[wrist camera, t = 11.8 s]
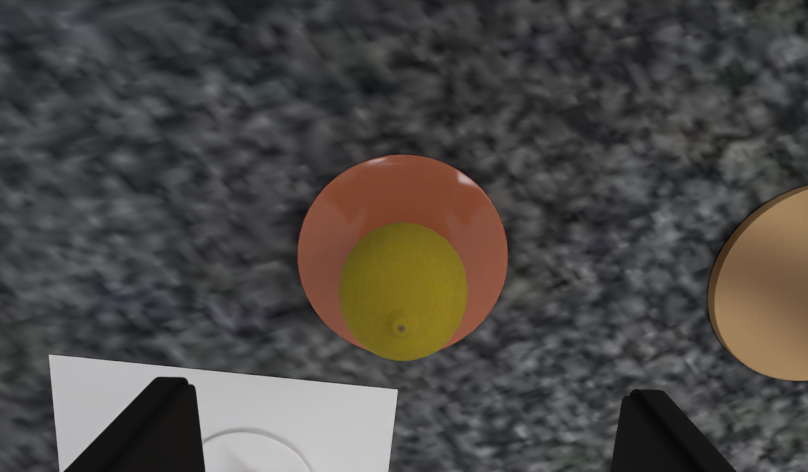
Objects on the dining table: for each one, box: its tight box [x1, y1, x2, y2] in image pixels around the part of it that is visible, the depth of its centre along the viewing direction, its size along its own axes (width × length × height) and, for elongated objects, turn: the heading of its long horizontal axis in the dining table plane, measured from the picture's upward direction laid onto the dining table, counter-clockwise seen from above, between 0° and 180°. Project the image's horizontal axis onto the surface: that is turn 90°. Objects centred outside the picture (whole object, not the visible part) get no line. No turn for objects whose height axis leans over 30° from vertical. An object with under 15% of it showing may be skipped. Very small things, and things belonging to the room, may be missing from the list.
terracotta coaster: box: [298, 154, 508, 350], centre depth 24 cm, size 11×11×1 cm
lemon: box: [339, 222, 468, 361], centre depth 20 cm, size 6×6×8 cm
